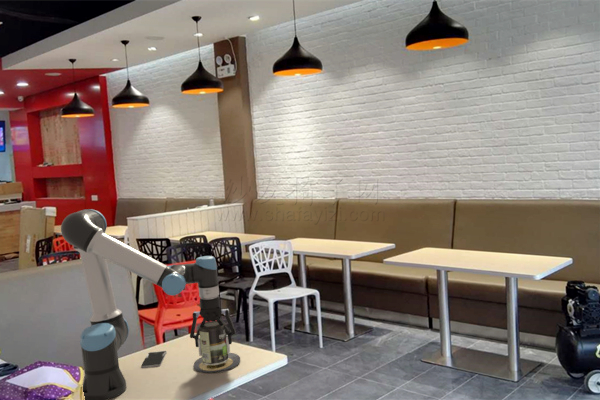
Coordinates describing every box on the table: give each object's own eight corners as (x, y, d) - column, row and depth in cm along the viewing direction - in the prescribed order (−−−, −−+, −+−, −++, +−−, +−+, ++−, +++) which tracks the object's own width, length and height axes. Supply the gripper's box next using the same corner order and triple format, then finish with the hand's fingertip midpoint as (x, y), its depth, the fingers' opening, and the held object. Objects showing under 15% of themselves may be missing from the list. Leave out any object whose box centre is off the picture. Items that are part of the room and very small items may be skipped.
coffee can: (232, 355, 215) (229, 320, 214) (223, 365, 205) (220, 329, 204) (207, 355, 217) (204, 320, 216) (197, 365, 207) (194, 329, 206)
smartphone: (140, 366, 216) (148, 352, 231) (141, 369, 216) (148, 355, 231) (160, 364, 217) (166, 350, 232) (160, 367, 217) (167, 353, 232)
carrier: (189, 375, 205) (186, 344, 204) (198, 356, 224) (195, 327, 223) (238, 371, 205) (235, 340, 204) (242, 352, 224) (239, 324, 223)
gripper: (177, 302, 205) (183, 359, 207) (238, 297, 205) (243, 354, 207) (181, 296, 213) (187, 352, 215) (239, 292, 213) (244, 347, 215)
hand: (214, 353), depth 211 cm, fingers closed on coffee can, 10 cm apart
